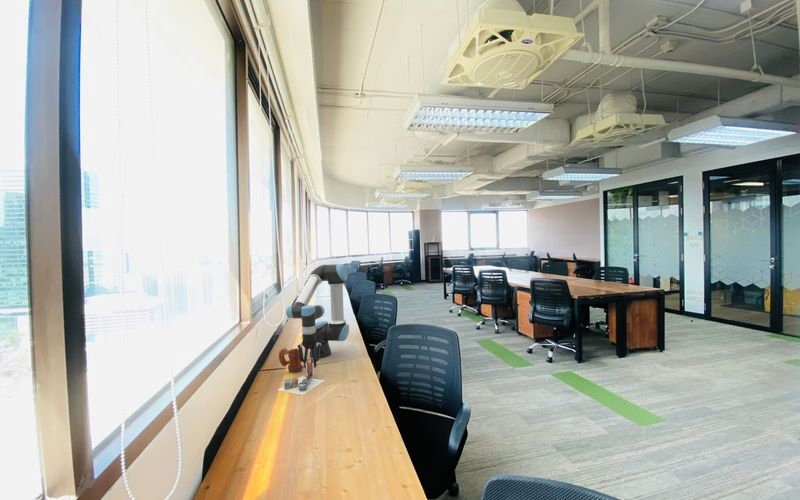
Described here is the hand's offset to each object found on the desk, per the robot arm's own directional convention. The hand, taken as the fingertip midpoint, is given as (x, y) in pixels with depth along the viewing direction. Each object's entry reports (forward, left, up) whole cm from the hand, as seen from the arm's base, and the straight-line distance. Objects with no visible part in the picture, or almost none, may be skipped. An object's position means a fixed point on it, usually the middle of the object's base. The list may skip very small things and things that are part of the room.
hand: (310, 373), depth 187 cm
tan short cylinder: (+11, -2, -3) cm, 12 cm away
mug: (-6, -20, -5) cm, 21 cm away
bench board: (+8, +1, -5) cm, 10 cm away
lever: (+7, +3, -2) cm, 8 cm away
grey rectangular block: (+14, -5, -3) cm, 15 cm away
